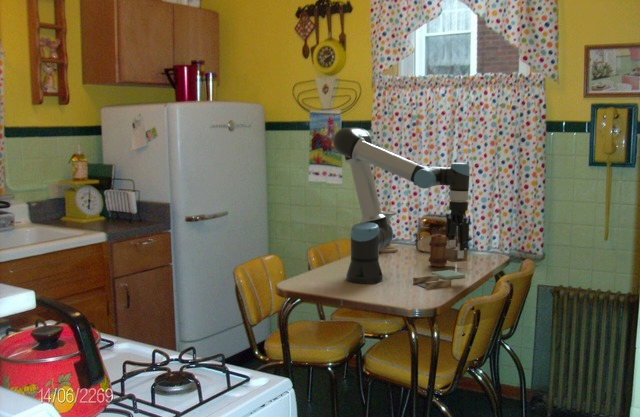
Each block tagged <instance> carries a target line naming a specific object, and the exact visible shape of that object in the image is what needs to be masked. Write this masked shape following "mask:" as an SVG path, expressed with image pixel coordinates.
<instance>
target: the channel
mask: <svg viewBox="0 0 640 417" xmlns="http://www.w3.org/2000/svg"><path fill="white" fill-rule="evenodd" d="M439 278H440V277H439V275H432V274H431V275H426V276H425V275H424V276H417V277H416V276H415V277H413V279H412V283H413V284H412V285H416V286H419V287H421V288H423V289H426V290H427V289H436V288H444V287H445V288H446V287H451V286H452V279H446V280H445V279H442V280H440V279H439Z"/></svg>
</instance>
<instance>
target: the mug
mask: <svg viewBox="0 0 640 417" xmlns="http://www.w3.org/2000/svg"><path fill="white" fill-rule="evenodd" d="M455 238H456V239H454V240H456V247H458V242H459V237H458V236H457V235H456V234H455ZM448 242H449V239H448V237H446V235H443V234H438V235H437V234H434V235H433V234H432V235H431V238H430V241H429V243H428V245H429V246H430V248H429V249H430V252H429V253H430V256H429V258H428V262H429V265H430V266H433V267H436V268H442V267H444V266H446V265H447V262H448V261H447V260H446V248H447V245H448Z"/></svg>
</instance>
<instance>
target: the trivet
mask: <svg viewBox="0 0 640 417" xmlns="http://www.w3.org/2000/svg"><path fill="white" fill-rule="evenodd" d="M431 275H439V278H440V279H442V280H449V279H451V280H452V279H461V278H462V279H463V278H465V277H466V275H465V274H464V273H461V272H458V271H455V270H452V269H447V270H438V271H431Z"/></svg>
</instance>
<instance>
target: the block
mask: <svg viewBox="0 0 640 417" xmlns="http://www.w3.org/2000/svg"><path fill="white" fill-rule="evenodd" d="M467 258H468V248H464V258H457V247H453V248H449V247H446V260H447V262H450V263H459V262H467V260H468V259H467Z"/></svg>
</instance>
